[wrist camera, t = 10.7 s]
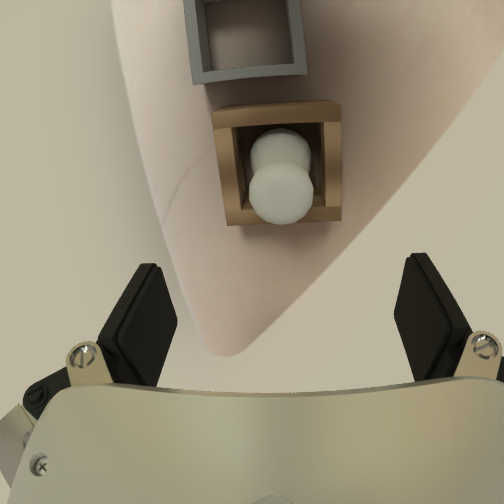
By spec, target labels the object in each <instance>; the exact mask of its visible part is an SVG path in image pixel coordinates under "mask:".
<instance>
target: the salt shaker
mask: <svg viewBox="0 0 504 504" xmlns="http://www.w3.org/2000/svg"><path fill="white" fill-rule="evenodd" d="M311 154H312V153H311V151H310V148H309V146H308V143H307V141H306V140H305V139H304V138H303V137H301V136H300V135H299V134H298V133H297V132H295V131H291V130H288V129H284V128H279V129H273V130H268V131H267V132H265V133H264V134H262V135H261V136H260V137H258V138H257V139H256V141H255V143H254V145H253V147H252V149H251V166H252V169H253V172H254V177H253V178H252V180H251V182H250V185H249V200H250V203H251V205H252V207H253V209H254V211H255V212H256V214H257V215H259V216H260V217H261V218H262V219H264V220H265V221H266V222H269V223H273V224H277V225H284V224H291V223H294V222H296V221H298V220H299V219H301V218H302V217H304V216H305V215H306V213H307V212H308V210H309V208H310V207H311V205H312V201H313V189H314V188H313V185H312V183H311V180H310V178H309V175H308V173H309V170H310V167H311Z"/></svg>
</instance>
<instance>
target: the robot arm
mask: <svg viewBox="0 0 504 504" xmlns="http://www.w3.org/2000/svg"><path fill="white" fill-rule="evenodd" d="M394 319H395V322H396V325H397V328H398V330H399V333H400V336H401V339H402V342H403V345H404V348H405V351H406V354H407V358H408V361H409V364H410V367H411V371H412V374H413V377H414V380H415V382H411V383H404V384H396V385H388V386H379V387H371V388H362V389H350V390H336V391H321V392H301V393H300V392H298V393H235V392H233V393H232V392H211V391H195V390H181V389H171V388H159V387H156V386H157V383H158V380H159V377H160V374H161V371H162V368H163V365H164V362H165V359H166V356H167V353H168V350H169V347H170V344H171V341H172V338H173V336H174V333H175V330H176V327H177V316H176V313H175V310H174V307H173V304H172V301H171V298H170V295H169V292H168V288H167V285H166V282H165V279H164V276H163V272H162V269H161V268H160V267H157V265H156V264H155V263H146V264H145V263H144V264H140V266H139V267H138V269H137V270H136V272H135V274H134V275H133V277H132V279H131V280H130V282H129V284H128V285H127V287H126V289H125V290H124V292H123V294H122V296H121V297H120V299H119V300H118V302H117V304H116V306H115V307H114V309H113V311H112V312H111V314H110V316H109V318H108V319H107V321H106V323H105V325H104V327H103V328H102V330H101V332H100V334H99V336H98V340H97V342H96V343H94V342H90V341H88V342H82V343H79V344H78V345H76V346H74V347H73V348H72V349H71V350H70V352H69V353H68V355H67V357H66V367H64V368H62V369H61V370H59V371H57V372H55V373H53V374H51V375H49V376H48V377H46V378H44V379H42V380H40V381H38V382H36V383H34V384H33V385H31V386H30V387H29V388H28V389H27V390H26V392H25V394H24V397H23V405H22V406H20V404H18V405H17V406H15V407H14V408H13V409H12V410H11V411H10V412H9V413H8V414H7V415H6V416H4V417H3V418H2V419H1V420H0V470H1V472H2V474H3V476H4V478H5V479H6V481H7V483H8V485H9V486H10V488H11V491H10V495H9V498H8V502H7V504H504V357H503V356H502V346H501V343H500V342H499V340H498V339H497V338H496V337H495V336H494V335H492V334H490V333H489V332H485V331H476V332H473V331H472V329H471V328H470V326H469V324H468V322H467V320H466V318H465V317H464V315H463V313H462V311H461V309H460V307H459V306H458V304H457V302H456V300H455V299H454V297H453V295H452V294H451V292H450V290H449V288H448V287H447V285H446V284H445V282H444V280H443V279H442V277H441V275H440V274H439V272H438V271H437V269H436V267H435V266H434V264H433V263H432V261H431V260H430V258H429V257H428V255H427V254H426V253H412V254H411V255H410V257H407V258H406V261H405V266H404V271H403V276H402V280H401V285H400V289H399V294H398V297H397V302H396V306H395V310H394Z"/></svg>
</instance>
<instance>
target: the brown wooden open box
mask: <svg viewBox="0 0 504 504" xmlns="http://www.w3.org/2000/svg"><path fill="white" fill-rule="evenodd" d="M211 115H212V122H213V130H214V137H215V145H216V152H217V159H218V166H219V173H220V180H221V187H222V194H223V201H224V208H225V215H226V221H227V226H234V225H252V224H273V223H269V222H266V221H265V220H264V219H262V218H261V217H260V216H259V215H257V214H256V212H255V211H254V209H253V207H252V205H251V203H250V200H249V191H246V186H245V177H244V168H243V159H242V150H241V142H240V133H239V127H241V126H253V125H266V124H282V123H306V122H317V130H318V155H319V188H314V189H313V201H312V205H311V207H310V208H309V210H308V212H307V213H306V215H305V216H304V217H302V218H301V219H299V220H298V221H296V222H319V221H341V206H342V126H341V105H340V104H337V103H335V102H333V101H294V102H275V103H260V104H248V105H238V106H229V107H221V108H219V109H217V110H215V111H213V112H212V113H211ZM294 223H295V222H294Z"/></svg>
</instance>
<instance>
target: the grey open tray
mask: <svg viewBox="0 0 504 504" xmlns="http://www.w3.org/2000/svg"><path fill="white" fill-rule="evenodd" d="M219 1H226V0H183V4H184V13H185V22H186V31H187V40H188V48H189V57H190V65H191V73H192V80H193V85H198V84H207V83H213V82H221V81H229V80H237V79H247V78H258V77H271V76H289V75H306V74H308V72H307V61H306V50H305V40H304V31H303V22H302V13H301V5H300V0H285V1H286V9H287V17H288V26H289V35H290V44H291V54H292V64H276V65H262V66H250V67H240V68H232V69H224V70H216V71H212V67H211V59H210V50H209V42H208V33H207V25H206V16H205V7H204V4H207V3H213V2H219Z"/></svg>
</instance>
